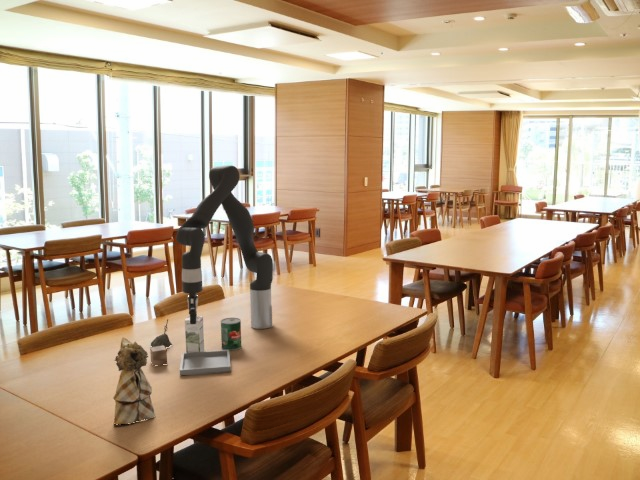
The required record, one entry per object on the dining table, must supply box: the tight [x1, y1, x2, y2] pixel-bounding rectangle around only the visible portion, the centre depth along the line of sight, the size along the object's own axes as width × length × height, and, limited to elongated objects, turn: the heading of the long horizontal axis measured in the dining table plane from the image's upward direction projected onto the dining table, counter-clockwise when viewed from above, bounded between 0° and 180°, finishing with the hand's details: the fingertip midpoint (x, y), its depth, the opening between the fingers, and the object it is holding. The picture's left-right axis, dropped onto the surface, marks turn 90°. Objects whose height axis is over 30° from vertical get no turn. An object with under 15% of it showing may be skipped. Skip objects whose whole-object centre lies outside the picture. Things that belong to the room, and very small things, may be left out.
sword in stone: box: [150, 319, 173, 348], centre depth 239 cm, size 10×8×12 cm
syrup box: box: [184, 315, 205, 353], centre depth 229 cm, size 6×6×14 cm
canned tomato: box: [220, 317, 242, 351], centre depth 237 cm, size 8×8×11 cm
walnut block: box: [149, 345, 168, 367], centre depth 220 cm, size 5×5×6 cm
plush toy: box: [112, 336, 156, 426], centre depth 176 cm, size 14×14×25 cm
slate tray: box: [179, 349, 232, 376], centre depth 218 cm, size 18×18×2 cm
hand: (193, 320), depth 228 cm, fingers open, 8 cm apart
